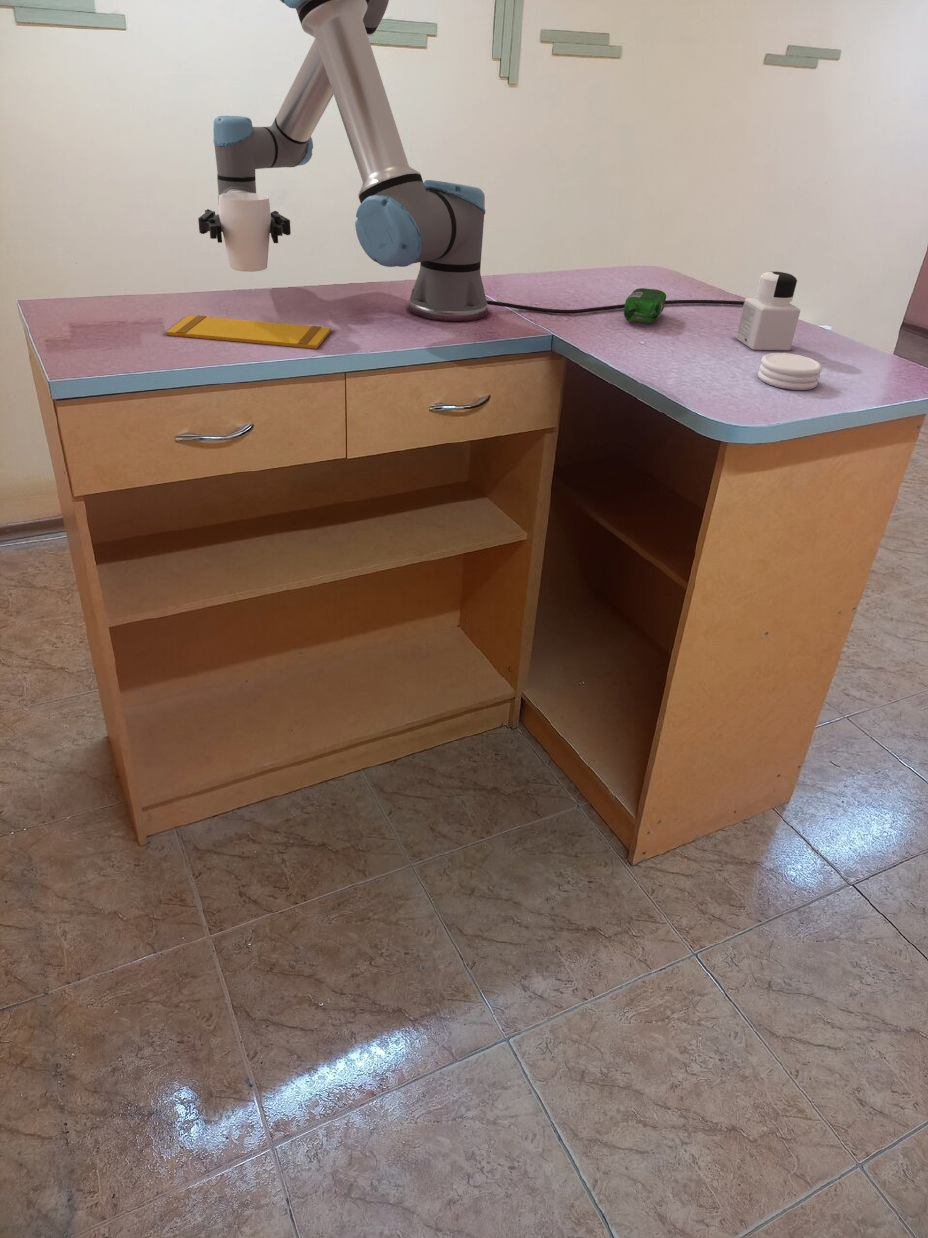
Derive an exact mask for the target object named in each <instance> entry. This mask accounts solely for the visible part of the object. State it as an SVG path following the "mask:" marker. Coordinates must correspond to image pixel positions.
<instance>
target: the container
mask: <svg viewBox="0 0 928 1238" xmlns="http://www.w3.org/2000/svg"><path fill="white" fill-rule="evenodd" d="M797 283H798V279H797V277H795V276H794V275H793V274H791V273H787V272H783V271H767V272H763V273H762V274H761V275H760V277H759V281H758V285H757V286H758V287H757V289H756V294H755V297H756V298H755V297H746V298H745V299H744V301H745V302H744V305H742V311H741V315H740V319H739V323H738V328H737V334H736V340H738V341H739V342H741V343H743V344H744V345H745V346H746V347H748V348H749V349H751V350H752V351H790V350H791V349H792V346H793V345H792V344H793V341H794V338H795V333H796V329H797V326H798V322H799V318H800V314H801V308H799V307H798V306H795V304H794V305H793V304H792V303H791V302H793V299H794V295H795V290H796V286H797Z"/></svg>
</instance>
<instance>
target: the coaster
mask: <svg viewBox="0 0 928 1238" xmlns="http://www.w3.org/2000/svg"><path fill="white" fill-rule="evenodd" d="M822 371H823V366H822V364H821V363H820V362H818V361H817V360H815V359H813V358H810V357H808V356H804V355H800V354H795V353H794V354H793V353H788V352H787V353H786V352H773V353H767V354H765V355H763V356H762V358H761V360H760V364H759V370H758V372H757V377H758V378H759V380H760V381H761V382H763V383H765V384H767V385H770V386H772V387H776V388H778V389H779V388H780V389H784V390H790V391H791V390H792V391H809V390H812V389H814V388H816V387H817V386H818V384H819V379H820V378H821V372H822Z"/></svg>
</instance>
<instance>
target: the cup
mask: <svg viewBox="0 0 928 1238" xmlns="http://www.w3.org/2000/svg"><path fill="white" fill-rule="evenodd" d="M218 196H219V201H218V202H219V204H218V214H219V217H220V222H221V227H222V231H223V232H222V236H223V240H224V245H225V250H226V254H227V258H228V263H229V267H230V269H232V270H234V271H239V272H245V273H246V272H247V273H248V272H250V273H253V272H262V271H265V270H266V269H268V263H269V262H268V261H269V250H270V249H269V248H270V247H269V246H270V237H271V233H270V223H271V213H272V211H271V206H270V205H271V204H270V197H269V195H267V194H262V193H257V192H256V193H245V192H233V193H223V194H220V195H219V194H218V195H217V197H218Z"/></svg>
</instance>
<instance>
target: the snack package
mask: <svg viewBox="0 0 928 1238" xmlns="http://www.w3.org/2000/svg"><path fill="white" fill-rule="evenodd" d="M666 299H667V295H666V292H664V291H663V290H660V289H656V288H654V289H653V288H645V287H639V288H636V289H634V290H633V291H632V292H631V293H630V294H629V295H628V297H626V299H625V303H624V304H625V307H624V308H623V316H624V318H625V319H626V321H627V322H628V323H640V324H646V325H650V324H654V323H655V322H656V321H657V320H658V319H659V318H660V316H661V315H662V313H663V311H664V309H665V305H666V304H665V301H667V300H666Z"/></svg>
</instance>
